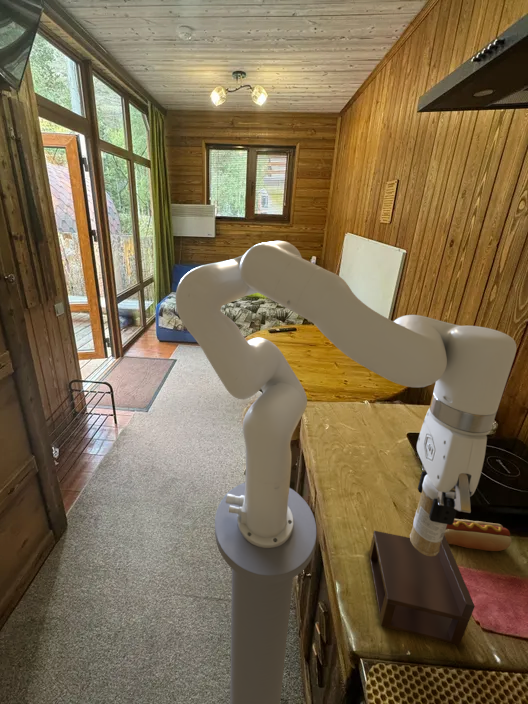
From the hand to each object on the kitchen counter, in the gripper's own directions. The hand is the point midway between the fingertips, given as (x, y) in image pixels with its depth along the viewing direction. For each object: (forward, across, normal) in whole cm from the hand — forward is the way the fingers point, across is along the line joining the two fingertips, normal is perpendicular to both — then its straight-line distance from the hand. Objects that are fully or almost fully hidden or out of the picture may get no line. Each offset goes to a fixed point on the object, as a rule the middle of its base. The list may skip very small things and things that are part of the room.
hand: (434, 505), depth 50 cm
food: (+22, -14, +16) cm, 31 cm away
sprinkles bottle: (+9, 0, 0) cm, 9 cm away
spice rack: (+22, 0, 0) cm, 22 cm away
